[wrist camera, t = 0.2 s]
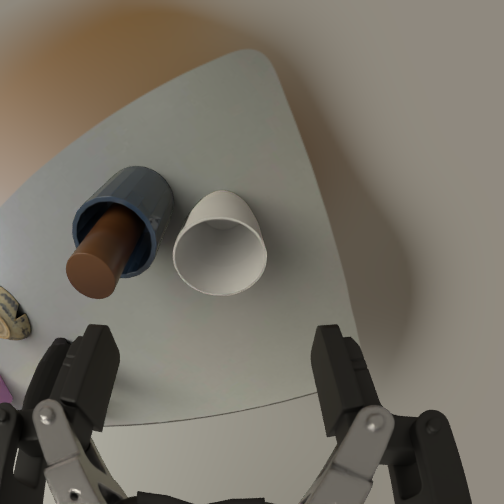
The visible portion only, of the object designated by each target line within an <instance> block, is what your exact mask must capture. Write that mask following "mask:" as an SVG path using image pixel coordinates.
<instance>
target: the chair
mask: <svg viewBox="0 0 504 504" xmlns="http://www.w3.org/2000/svg"><path fill="white" fill-rule="evenodd" d="M12 400H13V397H12V395H11V394H10V392H9V390H8V389H7V387H6V385H5V383H4V381H3V380H2V378H1V376H0V403H3V402H7V403H11V402H12Z"/></svg>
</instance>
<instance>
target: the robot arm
mask: <svg viewBox="0 0 504 504" xmlns="http://www.w3.org/2000/svg"><path fill="white" fill-rule="evenodd" d="M119 363H120V354H119V350H118V347H117V345H116V343H115V340H114V338H113V336H112V333H111V331H110V329H109V327H108V326H107V325H95V324H90V325H88V327H87V328H86V331H85V333H84V335H83V337H82V336H78V337H77V339H76V340H75V341H74V342H73V343H72V344H71V345H70V347H69V350H68V352H67V354H66V358H65V359H64V361H63V366H61V369H60V371H59V374H58V376H57V379H56V381H55V384H54V387H53V389H52V392H51V395H50V397H49V399H46V400H43V401H41V402H40V403H38V404H37V405H36V407H35V409H27V410H16V409H15V408H14V407H13V406H12V405H11V404H10V403H7V402H3V403H0V504H43V497H44V490H45V482H46V481H47V483H48V486H49V488H50V490H51V493H52V495H53V497H54V499H55V501H56V504H192V503H189V502H186V501H183V500H180V499H177V498H173V497H171V496H167V495H161V494H152V493H145V492H140V491H138V492H137V496H134V497H129V498H128V497H127V496H126V494H125V493H124V491H123V490H122V488H121V487H120V486H119V485H118V483H117V482H116V481H115V480H114V479H113V478H112V476H111V474H110V473H109V471H108V469H107V467H106V465H105V463H104V461H103V460H102V458H101V456H100V454H99V452H98V450H97V448H96V446H95V444H94V442H93V440H92V438H91V435H92V430H94V431H98V432H102V430H103V425H104V421H105V417H106V413H107V408H108V404H109V400H110V397H111V393H112V389H113V385H114V381H115V378H116V374H117V371H118V367H119ZM311 365H312V370H313V374H314V379H315V383H316V388H317V392H318V397H319V401H320V406H321V411H322V416H323V420H324V425H325V430H326V435H327V437H331V436H336V440H337V445H336V447H335V449H334V450H333V452H332V454H331V456H330V457H329V459H328V460H327V462H326V464H325V465H324V467H323V469H322V470H321V472H320V474H319V475H318V477H317V478H316V480H315V481H314V483H313V484H312V486H311V487H310V488H309V490H308V491H307V492H306V494H305V495H304V496H303V498H302V499H301V501H300V502H299V504H364V502H365V500H366V498H367V496H368V494H369V492H370V490H371V488H372V485H373V481H372V478H373V475H374V473H375V471H376V469H377V467H378V465H379V464H383V465H388V468H389V474H390V479H391V484H392V490H393V495H394V501H395V504H472V502H471V498H470V493H469V489H468V485H467V481H466V477H465V473H464V470H463V466H462V463H461V459H460V456H459V452H458V449H457V446H456V443H455V440H454V437H453V434H452V430H451V428H450V425H449V422H448V420H447V418H446V417H445V415H444V414H442V413H441V412H439V411H436V410H427V411H425V412H423V413H422V414H421V415H420V416H419V417H407V416H406V417H405V416H397V415H393V414H391V413H390V412H389V411H388V410H387V409H385V408H384V407H383V406H382V405H381V403H380V401H379V399H378V396H377V393H376V390H375V387H374V384H373V381H372V379H371V376H370V373H369V370H368V369H367V365H366V362H365V360H364V357H363V354H362V351H361V349H360V346H359V345H358V344H357V343H356V342H355V341H354V340H353V339H352V338H351V337H342V334H341V331H340V328H339V326H338V325H337V324H334V325H321V326H317V329H316V333H315V337H314V341H313V346H312V350H311ZM17 448H19V452H18V456H17V461H16V465H15V470H14V474H13V466H14V462H15V457H16V452H17ZM209 504H273V503H268V502H265V500H264V498H250V499H249V498H248V499H230V500H225V501H220V502H215V503H209Z"/></svg>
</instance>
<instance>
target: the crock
mask: <svg viewBox="0 0 504 504" xmlns="http://www.w3.org/2000/svg"><path fill="white" fill-rule="evenodd" d="M113 202H115V203H119V204H123V205H125V206H126V207H128V208H129V209H131V210H133V211H134V212H135V213H136V214H137V215H138V216H139V217H140V218H141V219H142V220H143V221H144V223H145V225H146V227H145V228H144V230H143V232H142V234H141V236H140V238H139V240H138V242H137V244H136V246H135V248H134V250H133V252H132V254H131V256H130V258H129V260H128V262H127V264H126V266H125V268H124V270H123V272H122V274H121V276H120V278H130V277H134V276H137V275H140V274H141V273H142V272H144V271H145V270H147V269H148V268H149V267H150V265H151V263H152V262H153V260H154V259H155V256H156V254H157V251H158V249H159V246H160V243H161V241H162V238H163V236H164V233H165V231H166V228H167V226H168V224H169V221H170V219H171V215H172V212H173V208H174V199H173V194H172V191H171V188H170V186H169V185H168V183H167V182H166V180H165V179H164V178H163V177H162V176H161V175H160V174H158V173H157V172H155V171H153V170H151V169H149V168H146V167H141V166H132V167H127V168H124V169H122V170H120V171H119V172H117V173H116V174H115V175H113V176H112V177H111V178H110V179H109V180H108V181H107V182H106V183H105V184H104V185H103V186H102V187H101V188H99V189H98V190H97V191H96V192H95V193H94V194H93V195H92V196H91V197H90V198H89V199H88V200H87V201H86V202H85V203H84V204H83V205H82V206H81V207H80V209H79V210H78V211H77V213H76V215H75V218H74V220H73V230H72V235H73V239H74V243H75V246H76V248H77V247H78V246H79V245H80V243H81V242H82V241H83V239H84V238H85V237H86V236H87V234H88V233H89V232H90V230H91V229H92V228H93V227H94V225H95V224H96V223H97V222H98V220H99V219H100V218H101V217H102V215H103V214H104V213H105V212H106V211H107V209H108V208H109V207H110V206H111V205H112V203H113Z"/></svg>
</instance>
